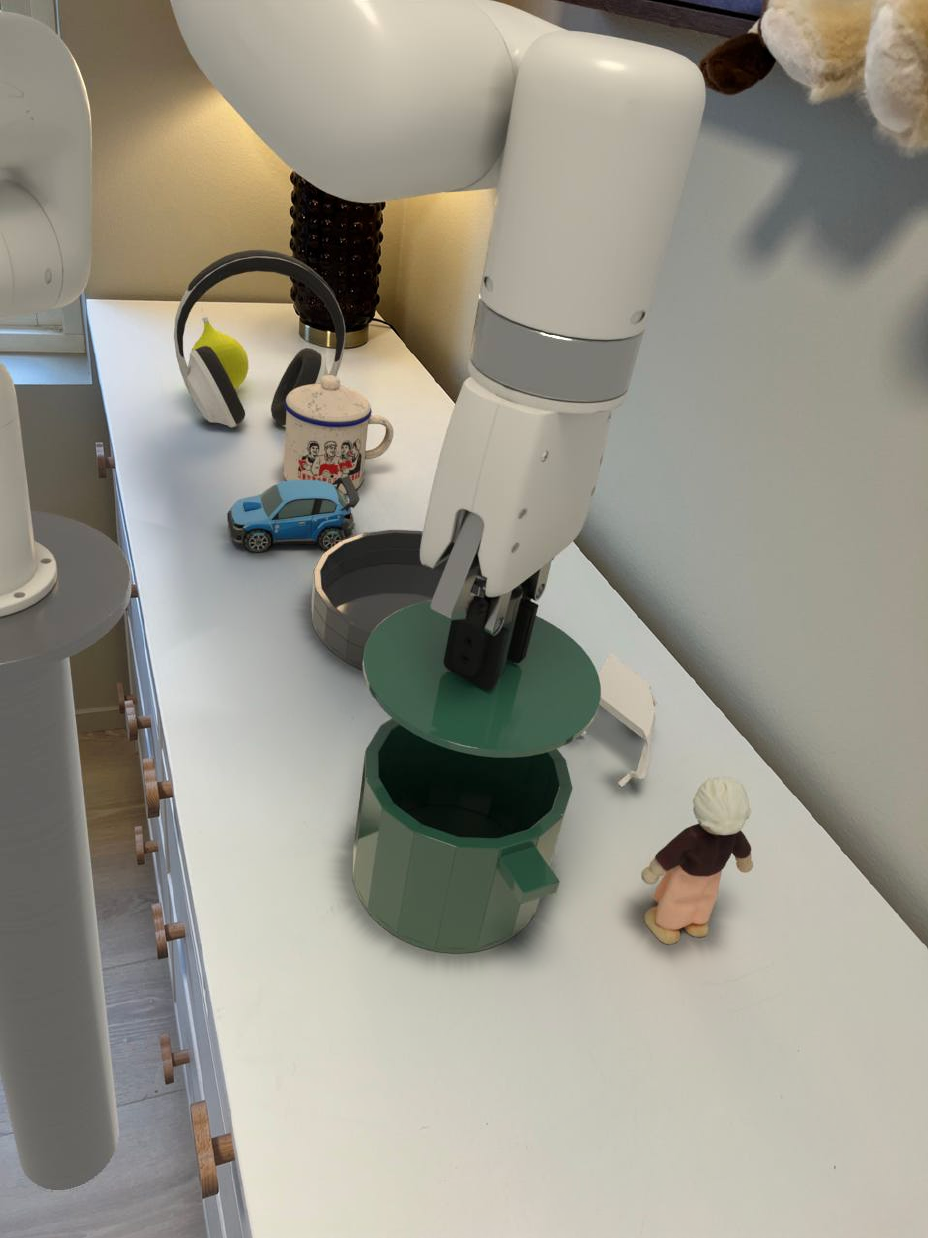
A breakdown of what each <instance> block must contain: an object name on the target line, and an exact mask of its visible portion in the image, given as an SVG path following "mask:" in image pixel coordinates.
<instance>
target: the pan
mask: <svg viewBox="0 0 928 1238" xmlns="http://www.w3.org/2000/svg"><path fill="white" fill-rule="evenodd" d="M422 534H423V530H414V529H413V530H412V529H411V530H410V529H385V530H376V531H368V532H362V533H360V534H357V535H353V536H351V537H348V538H344V540H343V541H340V542H339V543H337V544H336V545H334V546H333V547H332V548H330V549H329V550H326V551H325V552H323V553H322V554H321V556H320V558H319V560H318V561H317V564H316V565H315V567H314V569H313V575H312V588H311V589H312V590H311V602H310V603H311V621H312V626H313V628H314V631H315V633H316V635H317V636H318V638H319V639H320V641H321V642H322V643H323V645H324V646H325V647H327V648H328V650H330V652H332V653H333V654H334V655H335V656H337V657H338V658H339V659H341V660H342V661H344V662H346V663H347V664H349V665H350V666H353V667H355V668H357V669H359V670H361V671H363V656H364V649H365V646H366V643H367V640H368V638H369V636H370V635H371V633H372V631H373V630H374V629H375V628H376V627H377V626H378V624H379V623H381V622H382V621H383V620H384V619H385V618H387V617H388V616H390V615H391V614H393V613H395V612H396V611H398V610H401V609H403V608H405V607H407V606H411V605H414V604H417V603H421V602H426V601H431V600H432V598H433V596H434V593H435V591H436V588H437V586H438V583H439V581H440V579H441V576H442V574H443V571H444V569H445V566H446V564H447V561H448V559H449V558H448V559H446V560H445V561H444V562H442V563H441V564H439V565H438V566H436V567H435V568H431V567H426V566H424V565H423V564H422V563H421V560H420V546H421V539H422ZM477 591H478V585H476V584H473V589H472V593H473V594H475V595H477Z"/></svg>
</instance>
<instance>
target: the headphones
mask: <svg viewBox="0 0 928 1238" xmlns="http://www.w3.org/2000/svg"><path fill="white" fill-rule="evenodd" d="M253 272H262V273H274V274H279V275H282V276H286V277H290V278H291V279H293V280H295V281H298V282H299V283H302V284H303V285H304V286H305V287H307V288H309V289H310V290H311V291H312V292H313V293H314V294H315V295H316V296H317V297H318V298H319V299H320V300H321V301H322V303H323V304H324V306H325V307H326V309H327V311H328V312H329V314H330V317H331V320H332V323H333V326H334V331H335V332H334V333H335V340H336V342H335V354H334V360H333V362H332V366H331V368H330V371H328V368H327V359H326V357H325V356H324V355H323V354H322V353H320V352H318V351H317V350H315V349H314V348H308V347H305V348H302V349H300V350H299V351H298V352H297V353H296V354H295V355H294V357H293V358H292V360H291V361H290V363H288V366H287V368H286V370H285V371H284V373H283V375H282V377H281V378H280V381H279V383H278V385H277V387H276V390H275V393H274V395H273V397H272V402H271V404H270V413H271V416H272V419H274V420H275V422H276V423H278V424H279V425H280V426H282V427H284V428H286V413H287V410H286V408H285V400H286V398H287V396H288V394H289V393H290V392H291V391H292V390H294V389H295V388H298V387H301V386H304V385H311V384H315V383H319V382H321V378H322V377H323V376H325V375H333V376H336V377H337V376H338V373H339V370H340V366H341V363H342V361H343V357H344V352H345V344H346V325H345V319H344V316H343V313H342V309H341V308H340V305H339V303H338V301H337V299H336V298H337V297H336V294H335V292H334V291H333V289H332V288H331V287H330V286H329V284H328V283H327V282H326V280H324V278H323V277H322V276H320V275H319V273H317V272H316V271H315V270H314V269H313V268H311V267H310V266H309V265H308V264H306V263H304V262H303V261H301V260H299V259H297V258H295V257H293V256H291V255H288V254H285V253H283V252H280V251H272V250H266V249H249V250H241V251H238V252H237V251H236V252H233V253H230V254H227V255H225V256H222V257H220V258H219V259H217V260H215V261H213V262H211V264H209V265H208V266H207V267H204V268H203V269H202V270H201V271H199V273H198V274H197V275H196V276H194V278H193V279H192V280H191V281H190V282H189V284H188V287H187V288H186V290H185V292H184V293H183V296H182V297H181V300H180V302H179V304H178V306H177V310H176V314H175V318H174V328H173V329H174V330H173V341H174V349H175V357H176V361H177V364H178V367H179V372H180V374H181V377H182V379H183V382H184V385H185V387H186V389H187V391H188V393H189V394H190V396H191V398H192V400H193V402H194V404H195V405H196V407H197V408H198V410H199V412H200V413H201V414H202V415H203V417H204V418H205V420H207V421H208V422H209V423H217V424H221V425H225V426H227V427H229V428H235V427H237V426H238V425H240V423H242V422H243V420H244V419H245V417H246V411H245V408H244V406H243V404H242V401H241V400H240V397H239V395H238V393H237V392H236V391H237V390H236V389H234V387H233V385H232V382H231V380H230V378H229V376H228V374H227V372H226V371H225V369H224V367H223V365H222V364H221V362H220V360H219V358H218V357H217V355H216V353H215V352H214V351H213V350H212V348H211V347H208V346H202V347H199V348H197V349H195V350H193V351H192V350H191V351H192V352H191V351H190V352H189V359H188V364H187V361H186V358H185V353H184V334H185V329H186V323H187V321H188V319H189V317H190V313H191V312H192V310H193V308H194V306H195V305H196V303H197V302H198V301H199V300H200V299H201V298H202V297H203V296H205V294H206V293H207V292H208V291H209V290H211V289H212V288H213V287H214V286H215V285H217V284H219V283H221V282H223V281H225V280H227V279H228V278H230V277H234V276H238V275H241V274H245V273H253Z"/></svg>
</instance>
